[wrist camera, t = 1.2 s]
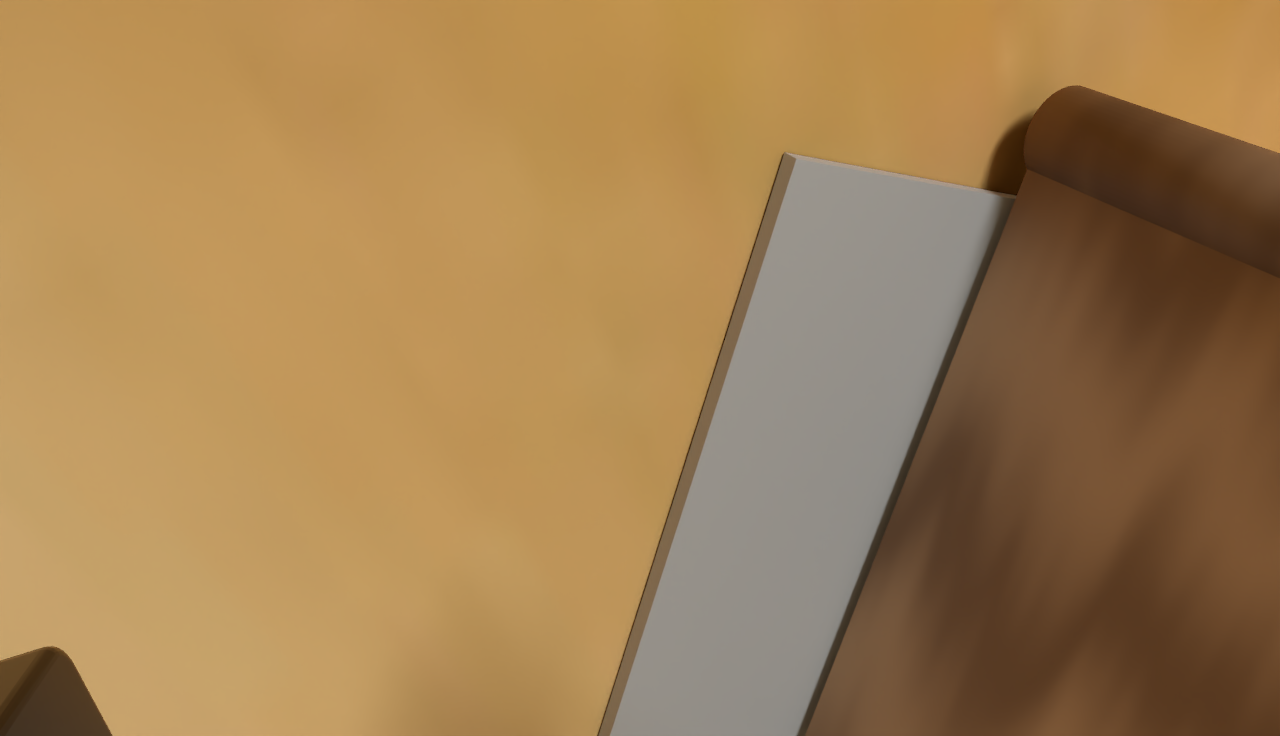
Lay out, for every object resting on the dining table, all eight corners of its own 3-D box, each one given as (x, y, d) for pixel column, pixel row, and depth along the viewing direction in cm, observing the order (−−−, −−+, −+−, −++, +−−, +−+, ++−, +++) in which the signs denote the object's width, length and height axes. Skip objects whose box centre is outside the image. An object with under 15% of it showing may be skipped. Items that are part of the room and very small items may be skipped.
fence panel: (854, 733, 30) (1264, 1201, 21) (790, 742, 29) (1191, 1238, 20) (1114, 95, 25) (1836, 338, 15) (1047, 77, 24) (1776, 326, 14)
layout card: (482, 1096, 31) (489, 1113, 31) (784, 152, 22) (797, 159, 22) (846, 997, 37) (854, 1009, 37) (1190, 227, 29) (1206, 234, 28)
